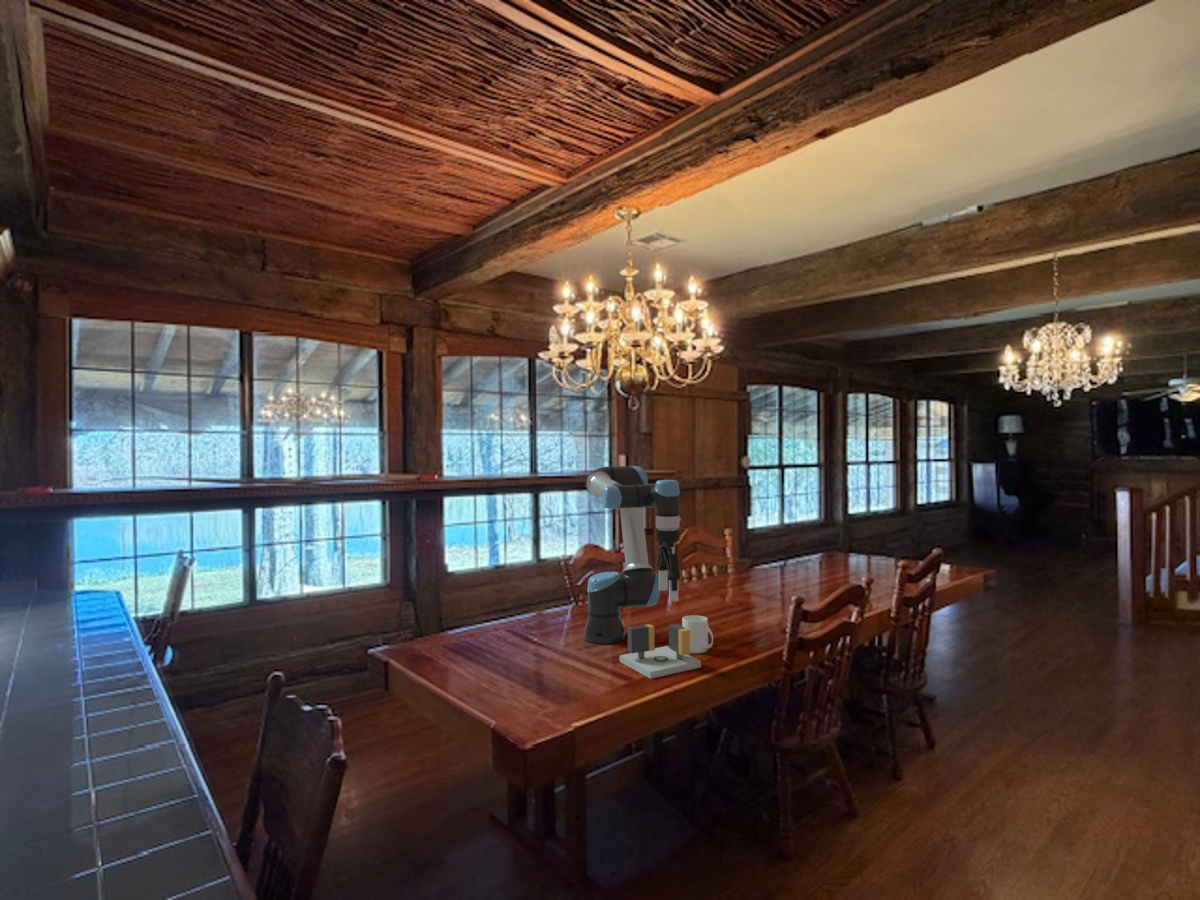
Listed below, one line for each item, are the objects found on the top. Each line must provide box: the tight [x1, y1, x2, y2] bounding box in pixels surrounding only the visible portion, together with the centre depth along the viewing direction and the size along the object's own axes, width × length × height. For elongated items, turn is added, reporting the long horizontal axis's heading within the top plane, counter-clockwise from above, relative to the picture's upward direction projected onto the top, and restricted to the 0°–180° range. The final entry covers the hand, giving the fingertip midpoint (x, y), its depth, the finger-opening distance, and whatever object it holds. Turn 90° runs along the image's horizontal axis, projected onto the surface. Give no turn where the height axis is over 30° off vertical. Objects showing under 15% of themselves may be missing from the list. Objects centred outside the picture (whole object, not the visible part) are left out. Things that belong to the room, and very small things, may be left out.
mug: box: [681, 615, 714, 654], centre depth 216 cm, size 9×12×11 cm
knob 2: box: [668, 623, 692, 659], centre depth 202 cm, size 8×3×10 cm, turn 24°
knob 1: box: [626, 623, 656, 659], centre depth 203 cm, size 8×3×10 cm, turn 112°
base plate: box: [619, 645, 702, 680], centre depth 203 cm, size 18×19×3 cm
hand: (668, 595), depth 202 cm, fingers open, 13 cm apart
